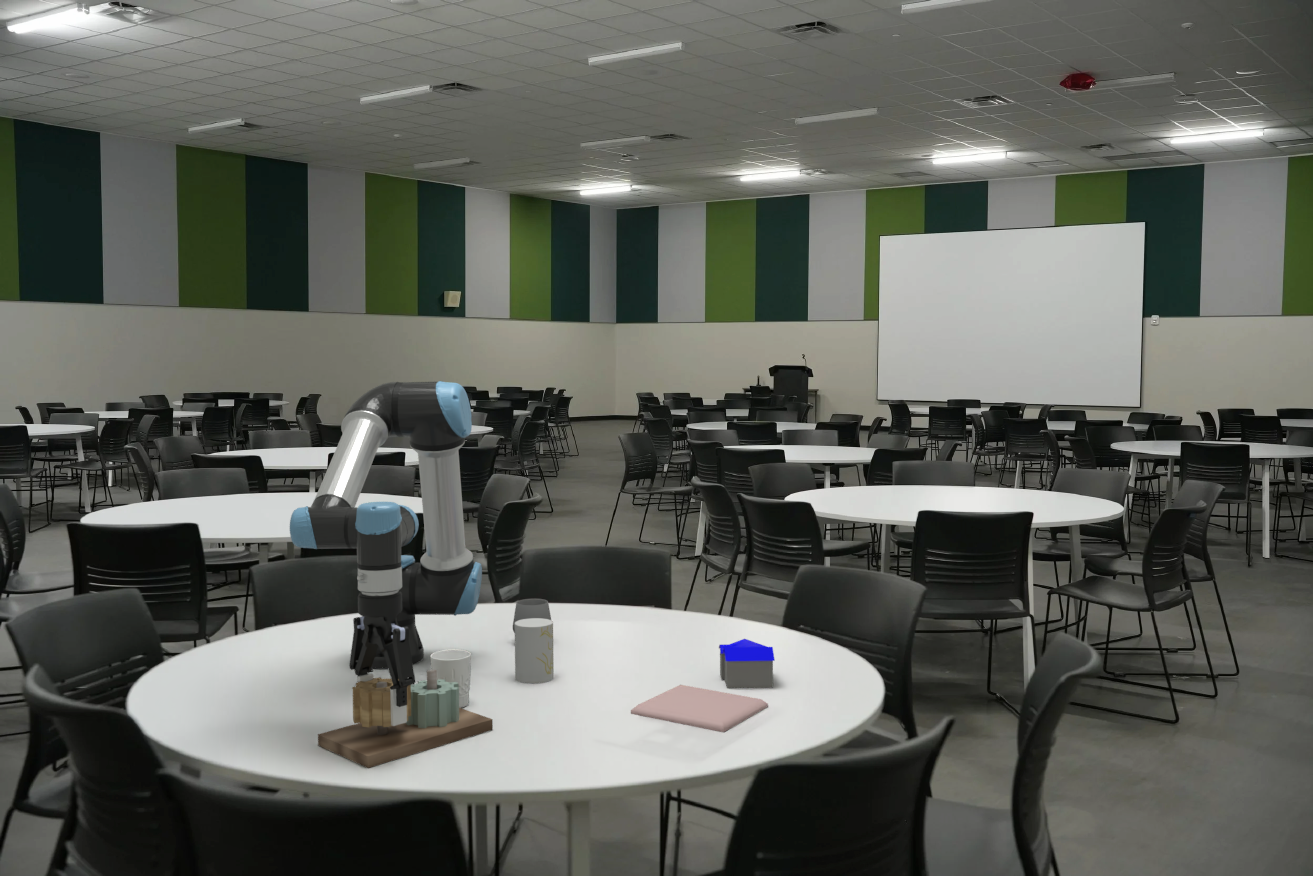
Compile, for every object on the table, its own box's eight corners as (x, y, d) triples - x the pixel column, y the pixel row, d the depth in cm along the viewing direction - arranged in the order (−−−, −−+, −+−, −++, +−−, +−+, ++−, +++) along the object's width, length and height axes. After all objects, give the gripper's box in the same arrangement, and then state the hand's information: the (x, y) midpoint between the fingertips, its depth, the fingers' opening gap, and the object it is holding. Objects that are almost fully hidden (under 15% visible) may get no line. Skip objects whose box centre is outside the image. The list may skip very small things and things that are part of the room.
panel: (643, 686, 230) (643, 675, 230) (787, 712, 212) (788, 701, 212) (539, 733, 201) (539, 721, 201) (696, 769, 183) (696, 755, 183)
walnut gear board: (318, 745, 193) (316, 683, 192) (440, 711, 212) (439, 655, 211) (367, 768, 182) (366, 703, 181) (492, 730, 201) (491, 670, 200)
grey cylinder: (547, 684, 229) (546, 628, 228) (509, 682, 231) (509, 626, 230) (558, 674, 237) (557, 619, 236) (522, 672, 239) (521, 617, 238)
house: (718, 675, 236) (718, 638, 236) (767, 674, 237) (768, 638, 236) (722, 689, 226) (722, 651, 225) (774, 689, 226) (774, 651, 226)
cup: (560, 641, 265) (559, 600, 264) (535, 650, 257) (535, 607, 256) (529, 636, 270) (529, 596, 269) (504, 644, 262) (504, 603, 261)
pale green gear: (394, 722, 199) (393, 689, 199) (432, 708, 207) (431, 676, 207) (432, 731, 194) (432, 698, 193) (470, 716, 202) (469, 684, 201)
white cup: (433, 699, 219) (432, 649, 219) (473, 698, 220) (472, 648, 219) (428, 711, 212) (427, 660, 211) (470, 710, 212) (469, 659, 212)
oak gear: (390, 706, 199) (389, 674, 199) (421, 718, 193) (420, 684, 192) (343, 719, 192) (342, 685, 192) (373, 731, 186) (372, 696, 185)
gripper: (327, 585, 196) (329, 708, 197) (397, 603, 181) (400, 737, 182) (364, 580, 202) (366, 699, 203) (435, 597, 186) (437, 726, 188)
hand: (382, 717), depth 193 cm, fingers closed on oak gear, 10 cm apart
